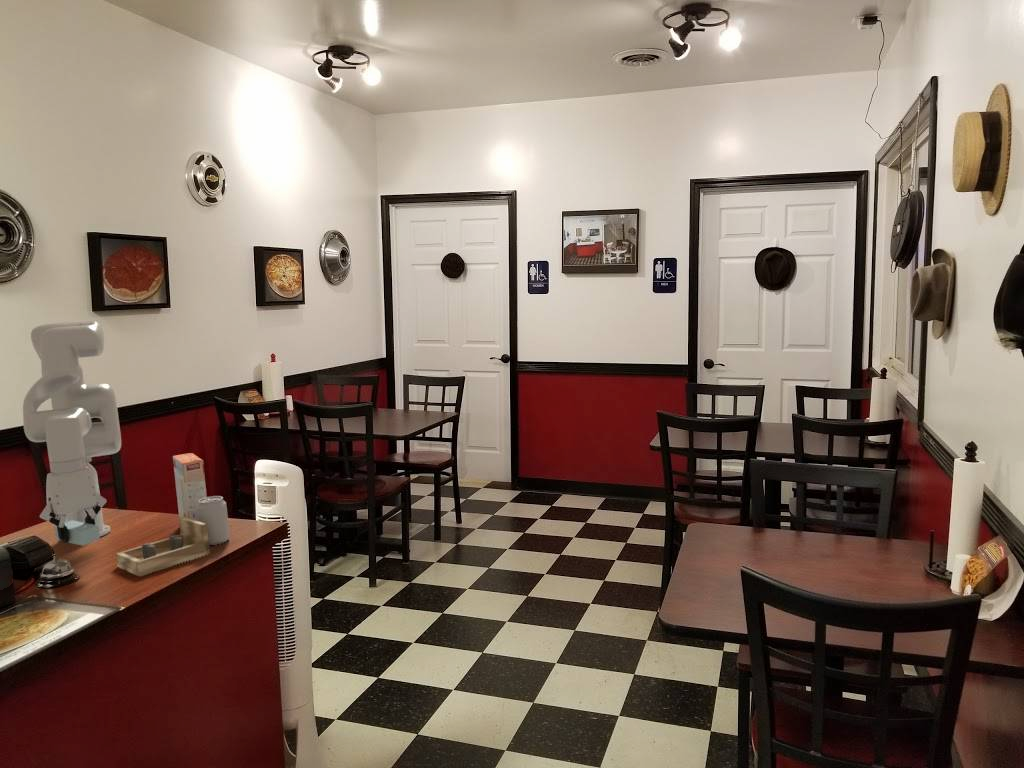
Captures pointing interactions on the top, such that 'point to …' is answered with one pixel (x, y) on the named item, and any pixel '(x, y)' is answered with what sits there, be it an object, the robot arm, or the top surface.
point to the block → (80, 532)
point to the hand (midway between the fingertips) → (77, 536)
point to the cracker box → (189, 483)
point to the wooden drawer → (167, 550)
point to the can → (214, 518)
